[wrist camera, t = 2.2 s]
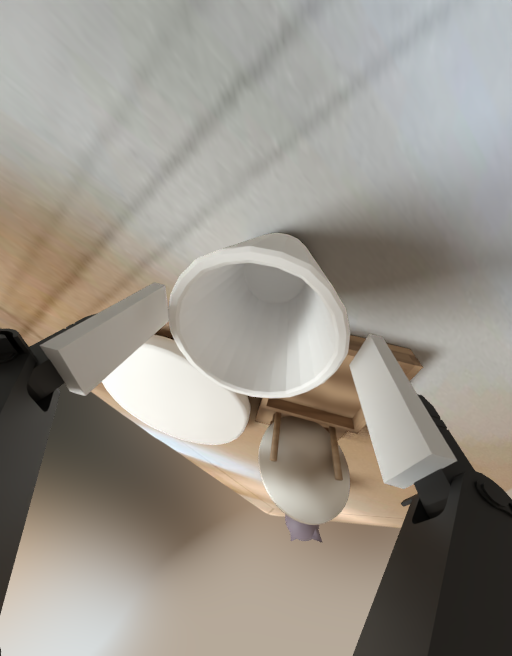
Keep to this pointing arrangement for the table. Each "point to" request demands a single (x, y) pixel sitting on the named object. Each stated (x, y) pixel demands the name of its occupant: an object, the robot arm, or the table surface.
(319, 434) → the rack
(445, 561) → the robot arm
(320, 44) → the table surface
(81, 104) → the table surface
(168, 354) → the plate
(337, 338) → the cup
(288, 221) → the table surface
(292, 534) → the cat figurine
